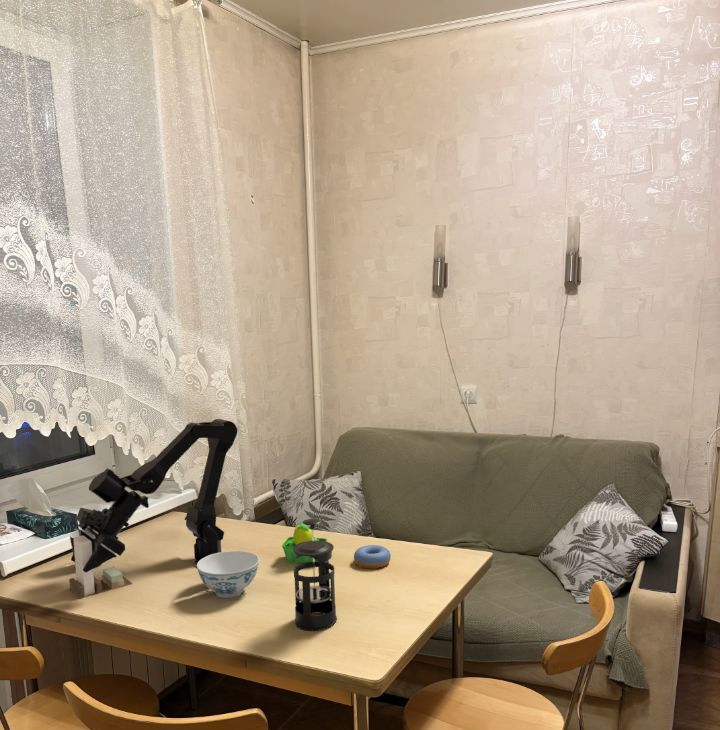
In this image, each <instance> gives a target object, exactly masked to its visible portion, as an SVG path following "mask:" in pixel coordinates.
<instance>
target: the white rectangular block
mask: <svg viewBox="0 0 720 730" xmlns="http://www.w3.org/2000/svg"><path fill="white" fill-rule="evenodd" d="M74 553H75V562H74V564H75V580H76V581H77V582H78V583H79V584H80V585H82V586H83V587H84V596H86V595H89V594H93V593H95V589H94V577H95V576H94V575H95V574H94V569H92V570H90V571H88V572H84V571H83V568H84V566H85V565H86V563H87V561H88V560H89V558H90V557H91V555H92V543H91V541H90V540H89V539H87V538H86V537H85V536H84V535H83V536H79V537H74Z"/></svg>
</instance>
